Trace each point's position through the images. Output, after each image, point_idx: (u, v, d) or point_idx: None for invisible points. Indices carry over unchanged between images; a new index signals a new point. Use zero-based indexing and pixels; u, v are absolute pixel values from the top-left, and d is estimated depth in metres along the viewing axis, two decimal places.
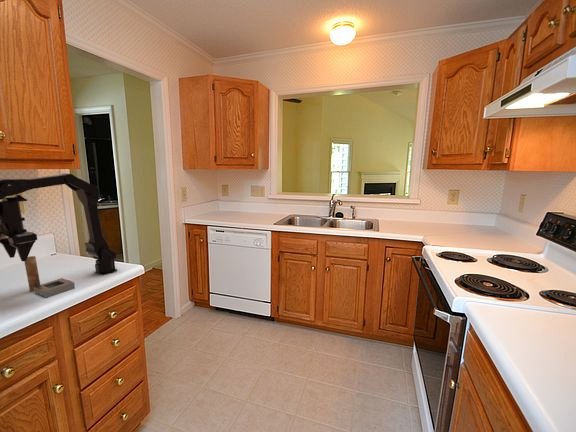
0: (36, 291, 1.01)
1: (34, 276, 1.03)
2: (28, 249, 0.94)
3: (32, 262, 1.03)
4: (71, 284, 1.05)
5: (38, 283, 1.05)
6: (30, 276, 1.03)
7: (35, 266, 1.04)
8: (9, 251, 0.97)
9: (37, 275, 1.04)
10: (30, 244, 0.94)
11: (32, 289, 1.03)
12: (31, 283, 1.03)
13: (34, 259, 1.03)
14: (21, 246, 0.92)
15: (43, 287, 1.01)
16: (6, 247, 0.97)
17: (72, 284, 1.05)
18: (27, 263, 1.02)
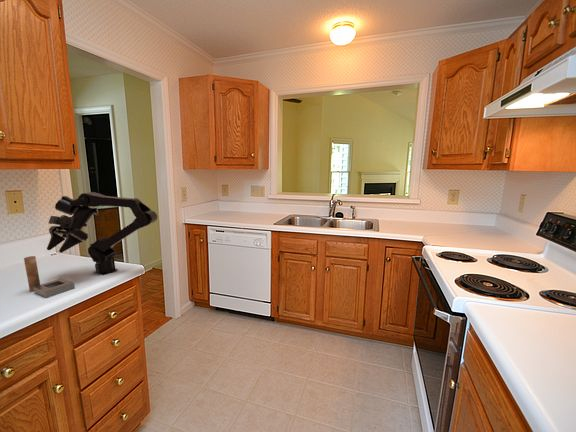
0: (36, 291, 1.01)
1: (34, 276, 1.03)
2: (71, 245, 1.10)
3: (32, 262, 1.03)
4: (71, 284, 1.05)
5: (38, 283, 1.05)
6: (30, 276, 1.03)
7: (35, 266, 1.04)
8: (51, 244, 1.12)
9: (37, 275, 1.04)
10: (76, 242, 1.11)
11: (32, 289, 1.03)
12: (31, 283, 1.03)
13: (34, 259, 1.03)
14: (70, 240, 1.09)
15: (43, 287, 1.01)
16: (52, 240, 1.13)
17: (72, 284, 1.05)
18: (27, 263, 1.02)
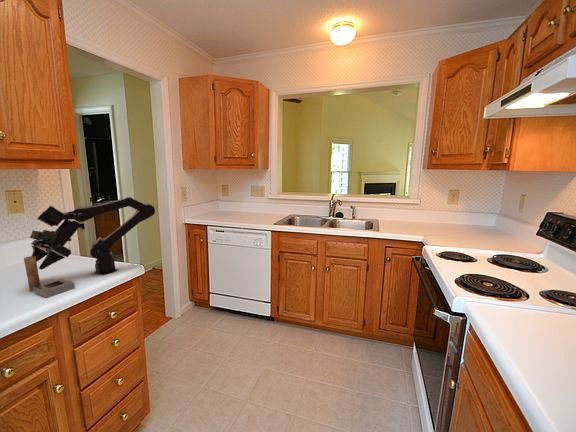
0: (36, 291, 1.01)
1: (34, 276, 1.03)
2: (53, 261, 1.05)
3: (32, 262, 1.03)
4: (71, 284, 1.05)
5: (38, 283, 1.05)
6: (30, 276, 1.03)
7: (35, 266, 1.04)
8: None
9: (37, 275, 1.04)
10: (58, 258, 1.06)
11: (32, 289, 1.03)
12: (31, 283, 1.03)
13: (34, 259, 1.03)
14: (51, 256, 1.04)
15: (43, 287, 1.01)
16: (34, 255, 1.08)
17: (72, 284, 1.05)
18: (27, 263, 1.02)
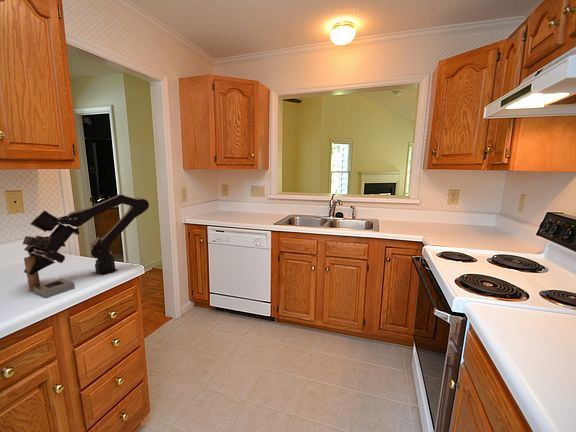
0: (36, 291, 1.01)
1: (34, 276, 1.03)
2: (43, 266, 1.04)
3: (32, 262, 1.02)
4: (71, 284, 1.05)
5: (38, 283, 1.05)
6: (30, 276, 1.03)
7: None
8: None
9: (37, 275, 1.04)
10: (48, 263, 1.05)
11: (32, 289, 1.03)
12: (31, 283, 1.03)
13: (34, 259, 1.03)
14: (41, 261, 1.04)
15: (43, 287, 1.01)
16: None
17: (72, 284, 1.05)
18: (27, 263, 1.02)
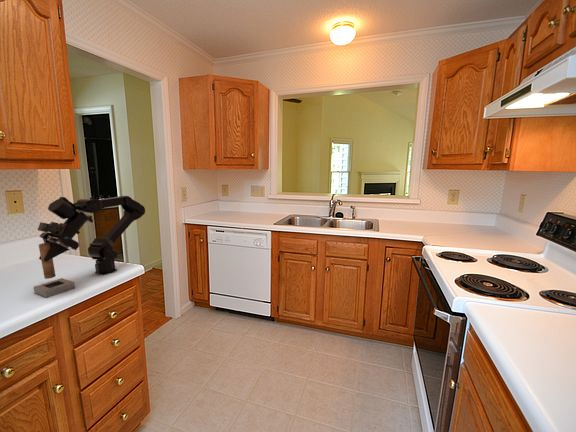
0: (36, 291, 1.01)
1: (48, 263, 1.02)
2: (57, 253, 1.03)
3: (47, 248, 1.01)
4: (71, 284, 1.05)
5: (53, 270, 1.03)
6: (45, 263, 1.01)
7: None
8: None
9: (52, 262, 1.03)
10: (63, 250, 1.04)
11: (47, 276, 1.02)
12: (46, 270, 1.02)
13: (48, 246, 1.02)
14: (56, 248, 1.02)
15: (43, 287, 1.01)
16: None
17: (72, 284, 1.05)
18: (42, 250, 1.00)
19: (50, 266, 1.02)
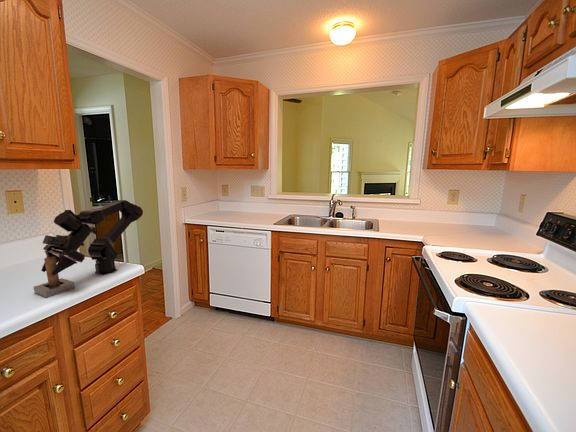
0: (36, 291, 1.01)
1: (54, 277, 1.02)
2: (65, 266, 1.02)
3: (52, 262, 1.02)
4: (71, 284, 1.05)
5: (58, 284, 1.04)
6: (50, 277, 1.02)
7: None
8: None
9: (57, 276, 1.04)
10: (70, 263, 1.03)
11: None
12: (51, 284, 1.02)
13: (54, 260, 1.02)
14: (64, 261, 1.02)
15: (43, 287, 1.01)
16: None
17: (72, 284, 1.05)
18: (48, 264, 1.01)
19: (56, 280, 1.03)
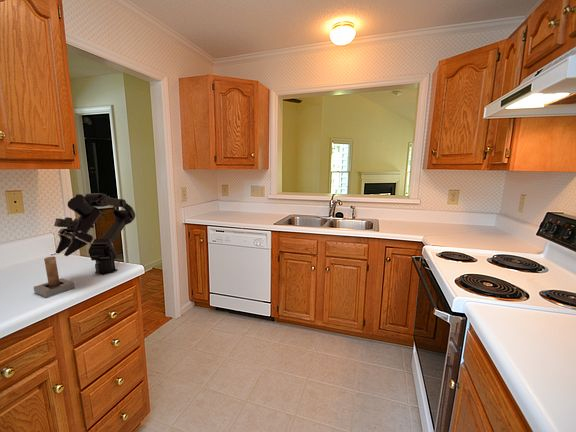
0: (36, 291, 1.01)
1: (54, 277, 1.02)
2: (77, 248, 1.05)
3: (52, 262, 1.02)
4: (71, 284, 1.05)
5: (58, 284, 1.04)
6: (50, 277, 1.02)
7: (55, 267, 1.03)
8: (59, 247, 1.09)
9: (57, 276, 1.04)
10: (81, 245, 1.06)
11: None
12: (51, 284, 1.02)
13: (54, 259, 1.02)
14: (75, 242, 1.05)
15: (43, 287, 1.01)
16: (61, 243, 1.10)
17: (72, 284, 1.05)
18: (48, 264, 1.01)
19: (56, 280, 1.03)
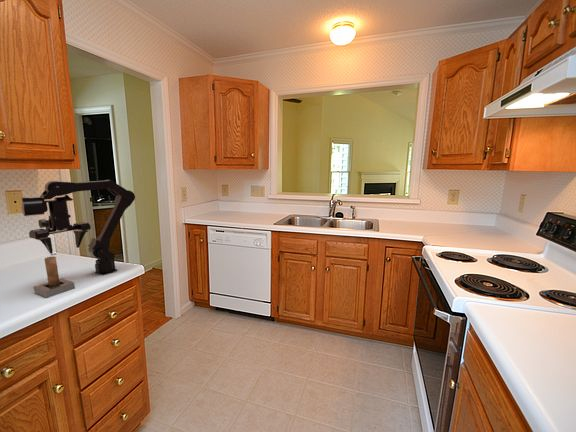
0: (36, 291, 1.01)
1: (54, 277, 1.03)
2: (47, 245, 1.05)
3: (53, 262, 1.02)
4: (71, 284, 1.05)
5: (58, 284, 1.04)
6: (50, 277, 1.02)
7: (55, 266, 1.03)
8: (76, 242, 1.15)
9: (57, 276, 1.04)
10: (45, 241, 1.04)
11: None
12: (51, 284, 1.02)
13: (54, 259, 1.02)
14: (45, 240, 1.05)
15: (43, 287, 1.01)
16: (75, 238, 1.15)
17: (72, 284, 1.05)
18: (48, 264, 1.01)
19: (56, 280, 1.03)
